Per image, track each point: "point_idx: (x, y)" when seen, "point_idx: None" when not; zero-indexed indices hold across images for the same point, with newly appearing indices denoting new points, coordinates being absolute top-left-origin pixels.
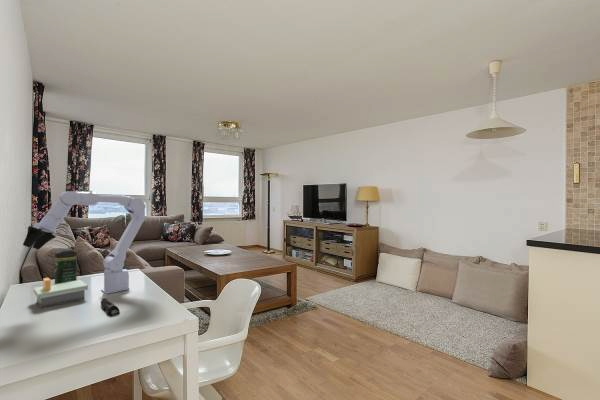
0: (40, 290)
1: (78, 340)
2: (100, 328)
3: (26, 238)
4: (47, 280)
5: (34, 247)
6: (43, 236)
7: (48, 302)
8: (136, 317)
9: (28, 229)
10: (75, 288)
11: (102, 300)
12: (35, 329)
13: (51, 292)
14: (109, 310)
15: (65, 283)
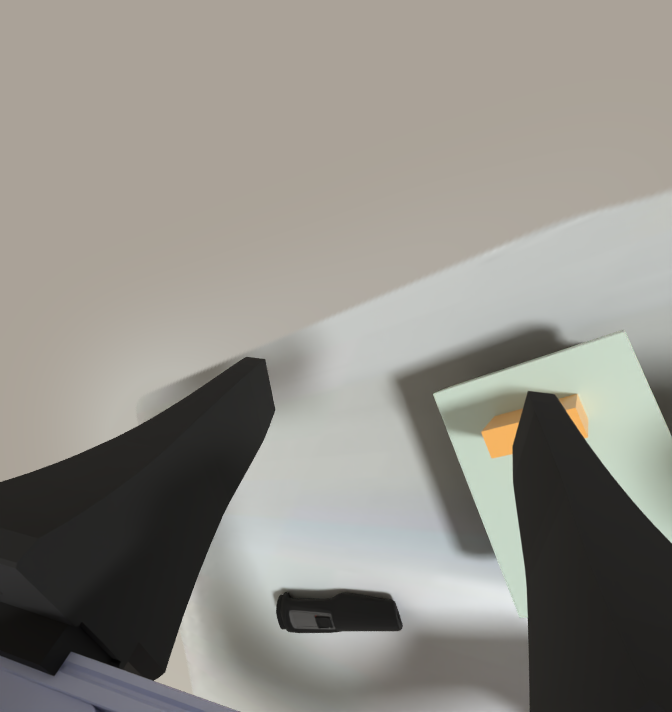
0: (516, 389)
1: None
2: (218, 555)
3: (180, 411)
4: (485, 442)
5: (524, 415)
6: (566, 642)
7: None
8: (251, 646)
9: (12, 488)
10: (497, 553)
11: (381, 614)
12: None
13: (453, 446)
14: (282, 604)
15: (657, 513)
